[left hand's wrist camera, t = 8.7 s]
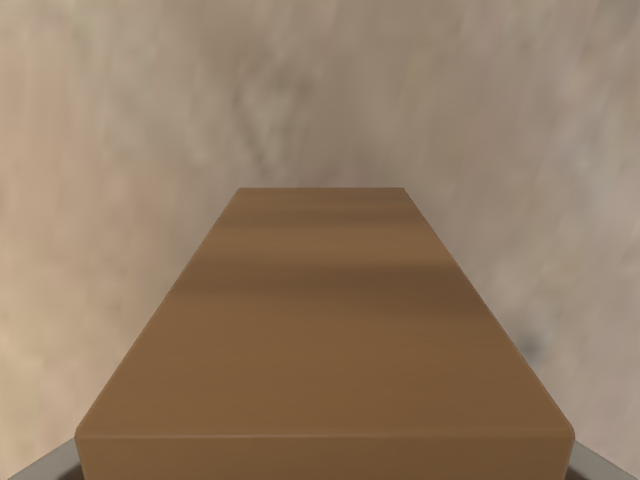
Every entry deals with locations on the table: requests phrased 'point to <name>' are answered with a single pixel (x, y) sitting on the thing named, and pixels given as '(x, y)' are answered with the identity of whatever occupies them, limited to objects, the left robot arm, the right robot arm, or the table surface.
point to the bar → (323, 358)
